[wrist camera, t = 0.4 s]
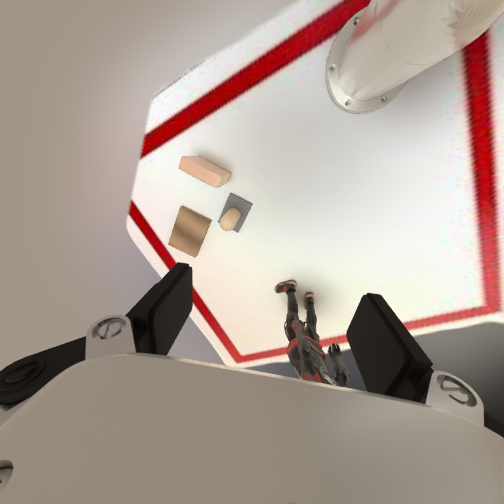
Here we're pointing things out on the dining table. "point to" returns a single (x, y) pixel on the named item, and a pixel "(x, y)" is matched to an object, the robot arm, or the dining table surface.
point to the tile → (204, 170)
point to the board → (189, 231)
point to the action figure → (309, 343)
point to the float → (234, 213)
